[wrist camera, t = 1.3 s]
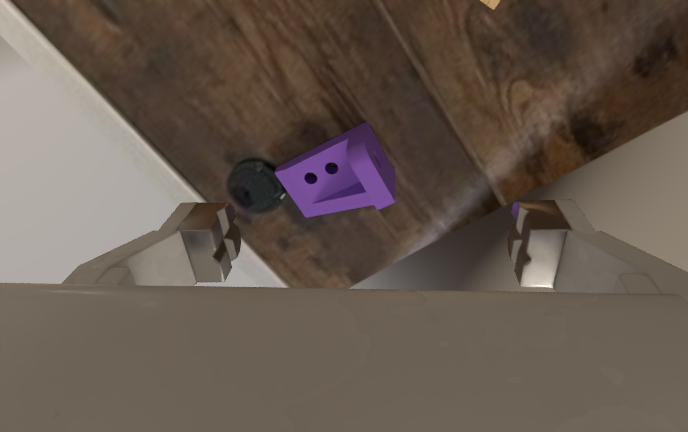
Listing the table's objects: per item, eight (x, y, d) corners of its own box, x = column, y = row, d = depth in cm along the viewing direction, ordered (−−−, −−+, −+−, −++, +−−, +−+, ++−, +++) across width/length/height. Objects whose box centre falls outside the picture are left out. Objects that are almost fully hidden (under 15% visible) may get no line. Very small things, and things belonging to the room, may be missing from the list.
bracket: (367, 121, 47) (363, 147, 42) (395, 171, 50) (395, 202, 45) (277, 166, 51) (262, 195, 46) (308, 210, 54) (297, 243, 49)
